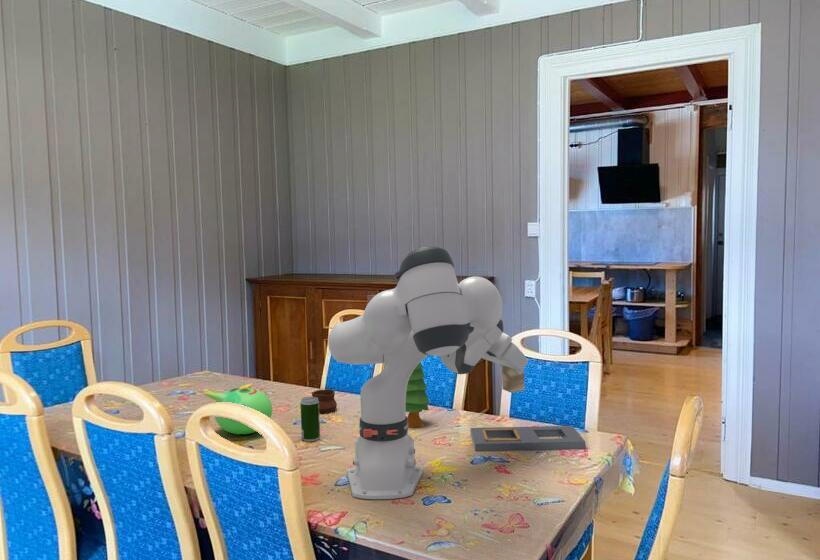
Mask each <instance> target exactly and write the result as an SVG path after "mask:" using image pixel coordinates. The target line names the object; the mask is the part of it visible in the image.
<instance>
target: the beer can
mask: <svg viewBox="0 0 820 560" xmlns="http://www.w3.org/2000/svg"><path fill="white" fill-rule="evenodd" d="M299 404H300V425H301V427H300V429H301V430H300V431H301V432H300V433H301V439H302V441H303V440H304V442H306V441H309V442H310V443H311V441H313V442H317V441H318V439H319V440H320V437H321V424H320V414H319V401H318V398H317V397H313V396H305V397H302V398H300V403H299Z"/></svg>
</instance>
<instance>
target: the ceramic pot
mask: <svg viewBox="0 0 820 560" xmlns="http://www.w3.org/2000/svg"><path fill="white" fill-rule="evenodd" d="M335 393H336V391H335V390H334V389H327V388H326V389H320V390H319V389H318V390H315V391H313V392H311V397H317V398H318V401H319V415H326V414H331V412H332V413H335V412H336V410H337V406H338V404H337V401H336V399H335Z"/></svg>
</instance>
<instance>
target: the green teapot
mask: <svg viewBox="0 0 820 560" xmlns="http://www.w3.org/2000/svg"><path fill="white" fill-rule="evenodd" d="M252 385H253V383H247V384H244V385H241V386H239V387H238V386H237V387H234V388H231V389H229V390H227V391H224V392H213V391H204V392H203V394H204V396H206V397H208V398H210V399H211V400H214V401H216V402H232V403H237V404H240V405H244V406H247V407H250V408H253V409H255V410H257V411H260V412H261V413H263V414H265V415H267V416H268V417H270V419H271V418H272V415H273V405H272V401H271V399H270V398H269V397H268V396H267V394H265V393H264V392H263V391H262V390H261V389H257V388H255V387H252ZM216 402H215V403H216ZM214 419H215V422H216V423H217V425H218V426H219V427H220V428H222V430H223V431H226V432H228V433H229V434H230V433H231V434H233V435H239V434H244V435H250V434H254V433H257V432H256V431H254V430H253V429H251V428H249V427H248V426H246V425H244V424H242V423H240V422H238V421H235V420H232V419H228V418H223V417H214Z"/></svg>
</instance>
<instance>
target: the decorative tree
mask: <svg viewBox="0 0 820 560" xmlns="http://www.w3.org/2000/svg"><path fill="white" fill-rule="evenodd" d="M424 378H426V376H425V373H424V370H423V364H422V361H421V362H420V363H419V364H418V365H417V366H416V368H415V369H414V370H413V372H412V374H411V376H410V378H409V381H408V384H407V389H406V413H408V415H407V420H408V428H421V427H423V426H424V425H425V422H424V421H423V420H422V419H421V417H420V413H421V412H423V411H429V406H428V404H430V399H429V396H428V395H427V393H426V391H428V386H427V384H426V382H425V380H424ZM423 424H424V425H423ZM422 425H423V426H422Z"/></svg>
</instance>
